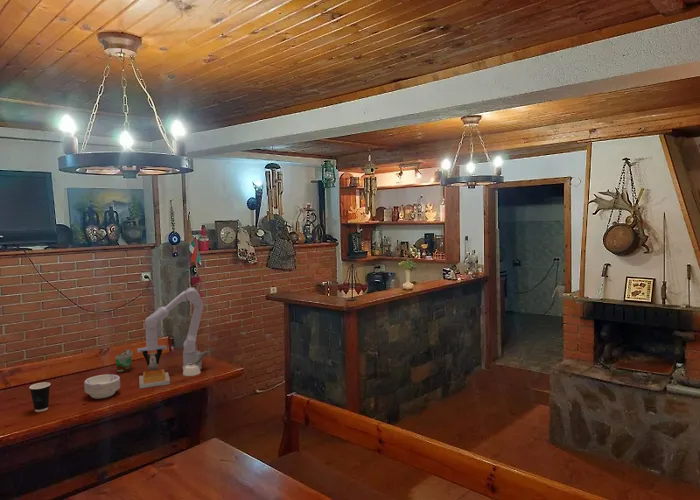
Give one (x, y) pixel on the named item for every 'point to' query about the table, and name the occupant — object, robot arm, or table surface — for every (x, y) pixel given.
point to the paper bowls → (102, 385)
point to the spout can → (152, 361)
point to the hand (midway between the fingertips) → (153, 364)
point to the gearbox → (154, 378)
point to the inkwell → (194, 365)
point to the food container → (124, 361)
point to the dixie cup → (40, 396)
